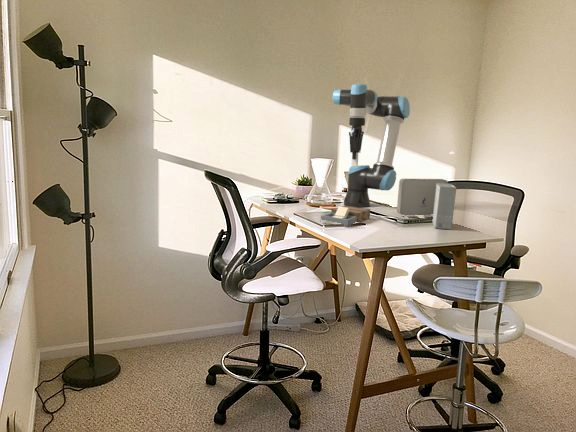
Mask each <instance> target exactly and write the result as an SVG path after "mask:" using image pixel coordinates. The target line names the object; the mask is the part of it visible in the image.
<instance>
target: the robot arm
mask: <svg viewBox="0 0 576 432" xmlns="http://www.w3.org/2000/svg"><path fill="white" fill-rule="evenodd" d="M331 98H332V102H333V104H335V105H339V106H341V105H343V106H346V107H349V116H350V117H349V119H348V121H349V122H348V125H349V126H351V131H349V132H348V136H349V151H350V152H349V153H351V166H349V168H348V169H349V170H348V177H347V180H348V181H347V192H346V194H345V197H344V199H343V206H352V207H358V208H368V207H370V206H371V201H370V197H369V189H371V190H379V191H390V190H391V189H392V188H394V186H395V184H396V180H397V172H396V170H395V167H394V165H393V162H394V157H395V151H396V147H397V143H398V138H399V133H400V128H401V124H403V123H404V122H405V119H408V118H409V116H410V113H411V107H410V101H409V99H408V98H407V97H406V96H396V95H394V96H393V95H391V96H387V95H386V96H385V95H381V96H378V93H377V92H376V91H375V90H373V89H368V86H367V84H363V83H361V84H359V83H357V84H356V83H354V84H352V85H351V88H350V89H341V88H340V89H336V90H334V91H333V93H332V97H331ZM366 114H369V115H372V116H375V117H380V118H383V120H384V127H383V131H382V136H381V141H380V147H379V150H378V154H377V159H376V162H375V163H373V165H372V167H371V166H370V164H364V165H359V154H361V150H362V144H363V137H364V134H365V132H364V131H363V128H362V127H364V126H365V125H366V118H365V117H366Z"/></svg>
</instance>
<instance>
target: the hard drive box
mask: <svg viewBox="0 0 576 432" xmlns="http://www.w3.org/2000/svg"><path fill="white" fill-rule="evenodd" d="M456 195H457V187H456V186H455V185H454V184H452V183H448V184H443V183H436V193H435V202H434V211H433V214H432V215H433V216H432V217H433V219H431V220H432V224H433V228H434V229H441V230H442V229H443V230H452V229H453V228H452V227H453V219H454V211H455V204H456Z"/></svg>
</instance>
